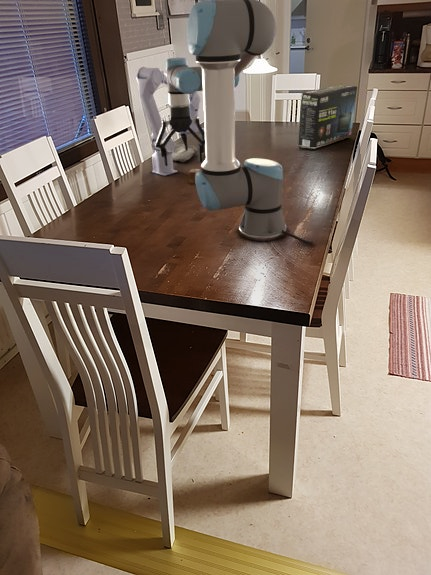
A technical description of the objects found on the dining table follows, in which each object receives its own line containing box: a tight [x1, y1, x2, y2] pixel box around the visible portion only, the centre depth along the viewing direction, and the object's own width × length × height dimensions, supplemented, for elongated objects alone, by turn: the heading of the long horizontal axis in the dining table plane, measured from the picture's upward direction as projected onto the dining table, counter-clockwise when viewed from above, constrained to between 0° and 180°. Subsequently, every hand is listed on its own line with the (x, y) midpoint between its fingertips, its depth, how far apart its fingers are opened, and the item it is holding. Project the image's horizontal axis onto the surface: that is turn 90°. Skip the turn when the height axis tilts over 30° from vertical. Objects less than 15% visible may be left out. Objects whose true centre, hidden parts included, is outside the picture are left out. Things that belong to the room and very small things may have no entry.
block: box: [187, 168, 201, 185], centre depth 196 cm, size 4×5×5 cm
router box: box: [297, 84, 358, 151], centre depth 238 cm, size 36×11×27 cm, turn 134°
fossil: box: [172, 142, 198, 163], centre depth 229 cm, size 18×11×15 cm
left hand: (194, 149), depth 218 cm, fingers open, 7 cm apart
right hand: (183, 163), depth 178 cm, fingers open, 13 cm apart
